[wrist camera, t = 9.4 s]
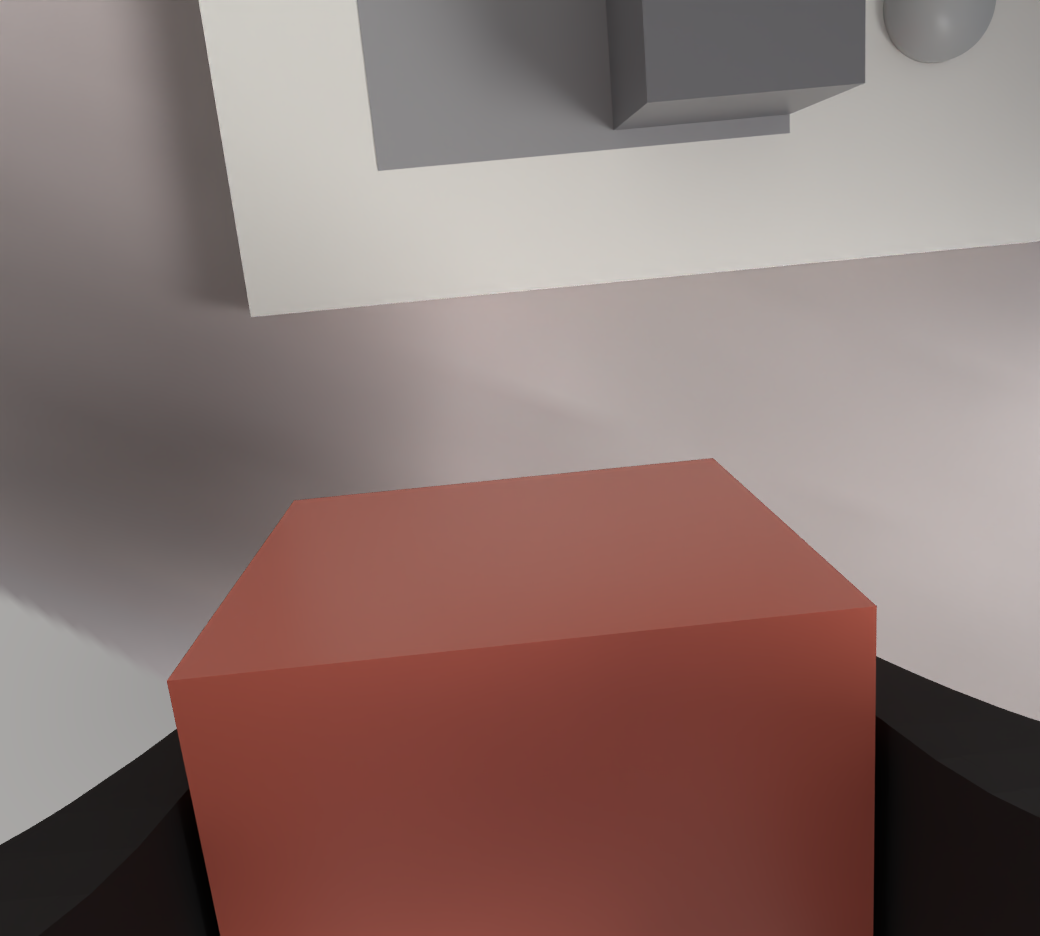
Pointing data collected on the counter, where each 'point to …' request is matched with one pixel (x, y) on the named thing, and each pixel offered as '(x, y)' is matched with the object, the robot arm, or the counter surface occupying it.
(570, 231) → the breaker panel
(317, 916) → the coral red cube
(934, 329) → the counter surface
